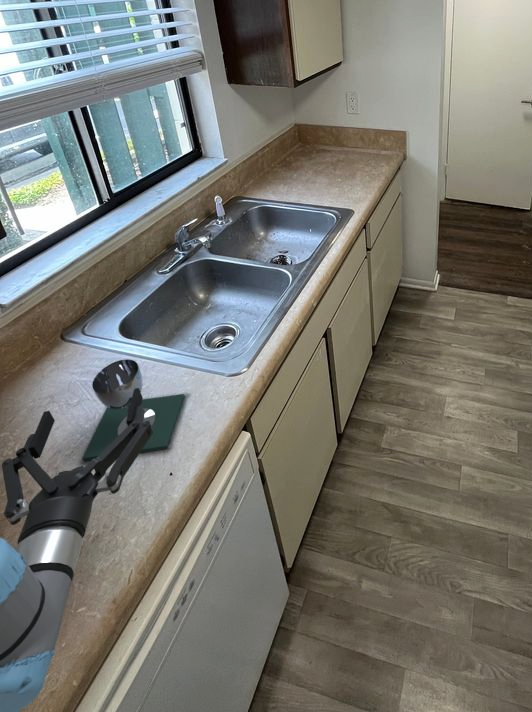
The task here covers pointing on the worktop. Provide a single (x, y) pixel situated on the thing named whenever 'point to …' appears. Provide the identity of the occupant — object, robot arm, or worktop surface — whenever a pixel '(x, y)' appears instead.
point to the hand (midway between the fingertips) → (95, 404)
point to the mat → (162, 426)
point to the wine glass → (120, 388)
